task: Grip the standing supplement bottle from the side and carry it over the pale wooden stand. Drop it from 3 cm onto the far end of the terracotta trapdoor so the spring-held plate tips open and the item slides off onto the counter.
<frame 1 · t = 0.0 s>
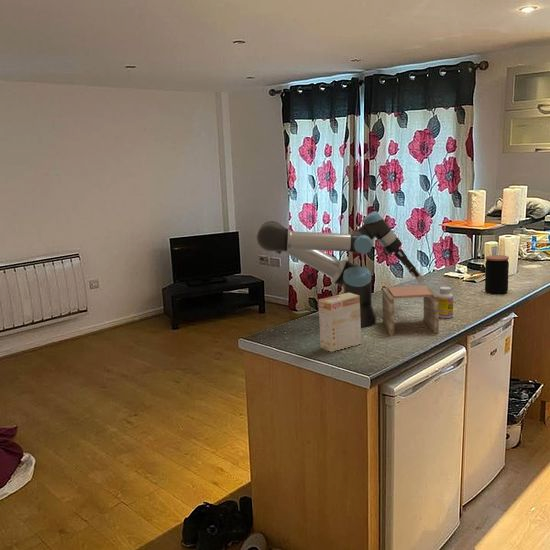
hand: (418, 278, 249), 15 cm above the countertop, tool tilted 35°, fingers open, 13 cm apart
coffeecake box: (341, 347, 211), on the countertop
trapdoor: (408, 291, 227), point 15 cm above the countertop, hinge at 0.0°
coffee jar: (496, 292, 276), on the countertop
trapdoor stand: (409, 327, 229), on the countertop
supplement bottle: (445, 316, 241), on the countertop
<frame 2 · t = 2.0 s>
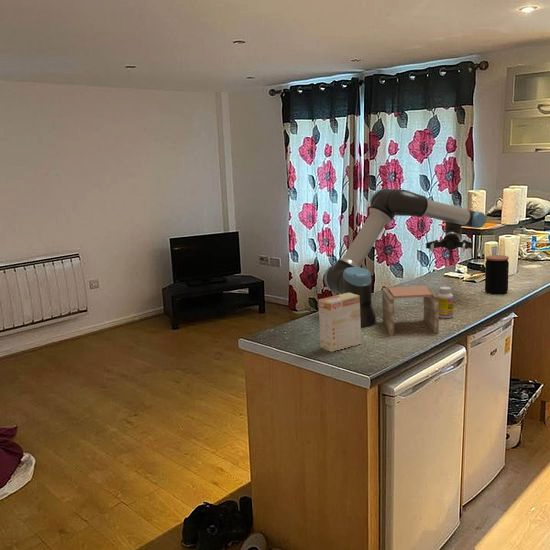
hand: (447, 248, 244), 28 cm above the countertop, tool horizontal, fingers open, 13 cm apart
nothing on the countertop moved.
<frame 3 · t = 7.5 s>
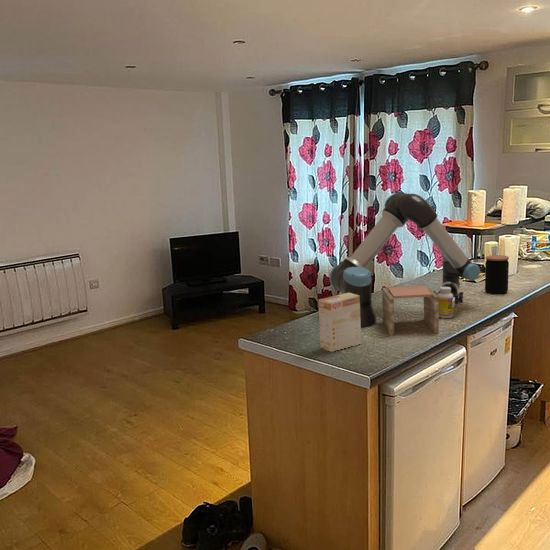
hand: (444, 303, 235), 7 cm above the countertop, tool horizontal, fingers closed on supplement bottle, 7 cm apart
supplement bottle: (445, 316, 241), on the countertop, touching gripper
everything else where it was.
when the fingers open (25 cm above the countertop, at t = 12.6 s): supplement bottle drops 4 cm, resting on trapdoor.
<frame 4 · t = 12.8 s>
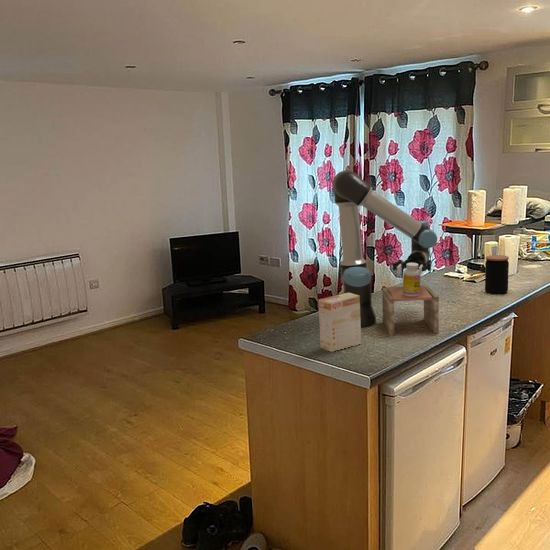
hand: (408, 271, 217), 25 cm above the countertop, tool horizontal, fingers open, 8 cm apart
trapdoor: (408, 293, 227), point 14 cm above the countertop, hinge at -4.8°, touching supplement bottle
supplement bottle: (411, 295, 223), point 14 cm above the countertop, touching gripper, trapdoor
everything else where it was.
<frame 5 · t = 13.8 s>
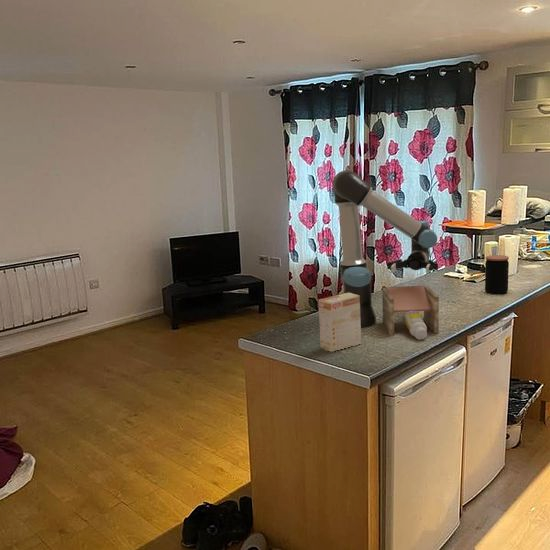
hand: (409, 270, 218), 25 cm above the countertop, tool horizontal, fingers open, 13 cm apart
trapdoor: (408, 298, 228), point 12 cm above the countertop, hinge at -24.7°, touching supplement bottle
supplement bottle: (411, 316, 223), point 6 cm above the countertop, touching trapdoor
everything else where it was.
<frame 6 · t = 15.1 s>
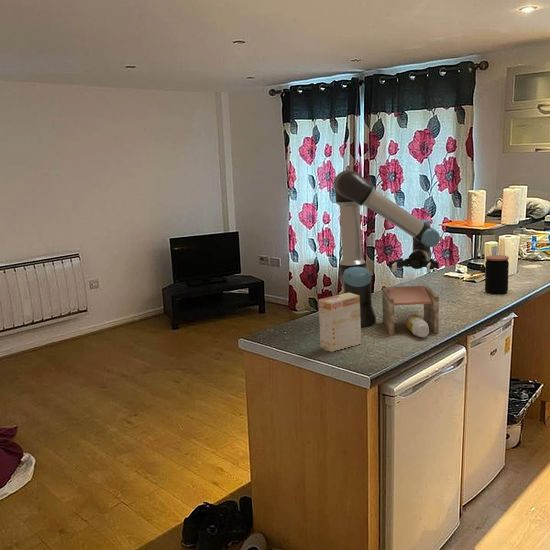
hand: (410, 269, 219), 26 cm above the countertop, tool horizontal, fingers open, 13 cm apart
trapdoor: (408, 295, 227), point 14 cm above the countertop, hinge at -11.5°
supplement bottle: (413, 321, 225), point 3 cm above the countertop
everything else where it was.
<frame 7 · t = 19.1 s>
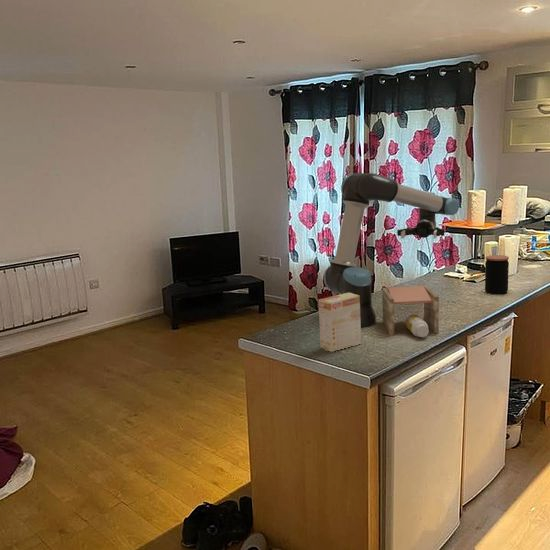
hand: (418, 235, 236), 36 cm above the countertop, tool horizontal, fingers open, 13 cm apart
trapdoor: (408, 294, 227), point 14 cm above the countertop, hinge at -9.7°
everything else where it was.
at the end: supplement bottle point 3.3 cm above the countertop; supplement bottle inside the target area on the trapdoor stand (6.7 cm from its centre), point 3.3 cm above the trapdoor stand's base; the gripper is holding nothing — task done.
